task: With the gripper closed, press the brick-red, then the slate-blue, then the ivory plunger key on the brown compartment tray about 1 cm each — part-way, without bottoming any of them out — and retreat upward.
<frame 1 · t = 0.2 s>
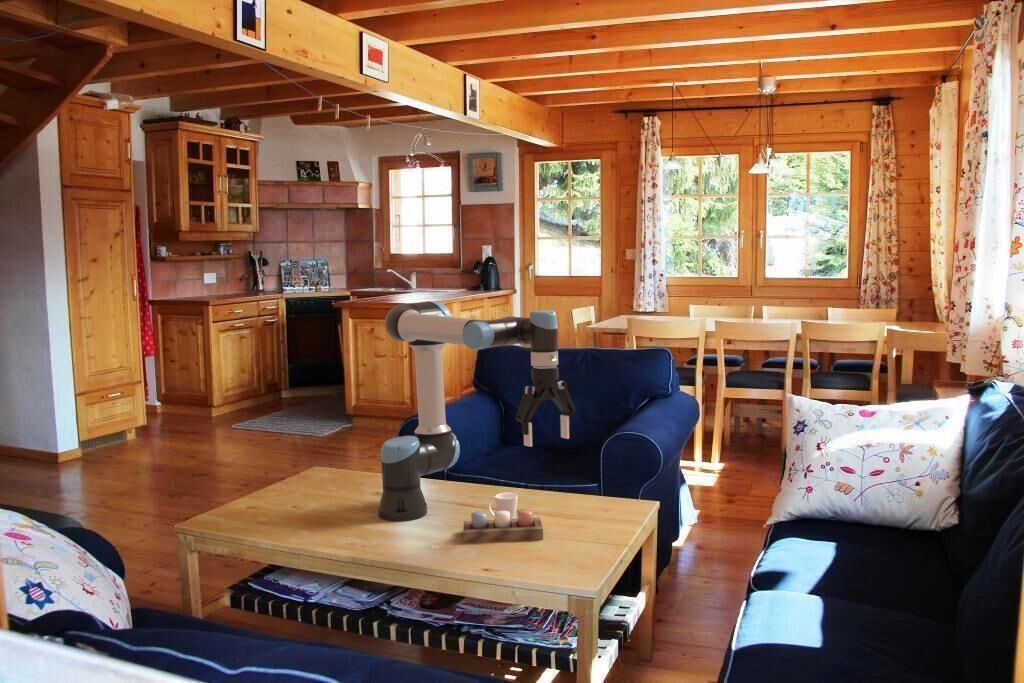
hand: (546, 442, 243), 27 cm above the table, fingers open, 13 cm apart
cup: (503, 522, 259), on the table
brown compartment tray: (502, 535, 246), on the table
white key: (502, 519, 246), point 5 cm above the table, slide at 0.0 cm
red key: (525, 518, 246), point 5 cm above the table, slide at 0.0 cm
blue key: (479, 520, 245), point 5 cm above the table, slide at 0.0 cm
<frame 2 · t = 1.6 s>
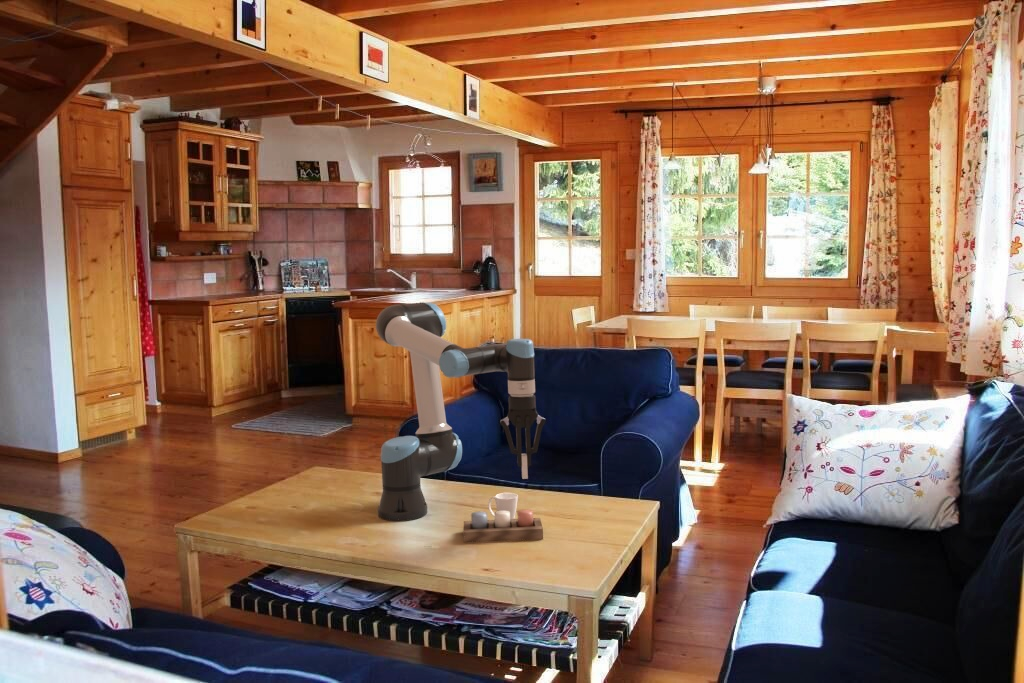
hand: (524, 477, 245), 16 cm above the table, fingers closed
nothing on the table moved.
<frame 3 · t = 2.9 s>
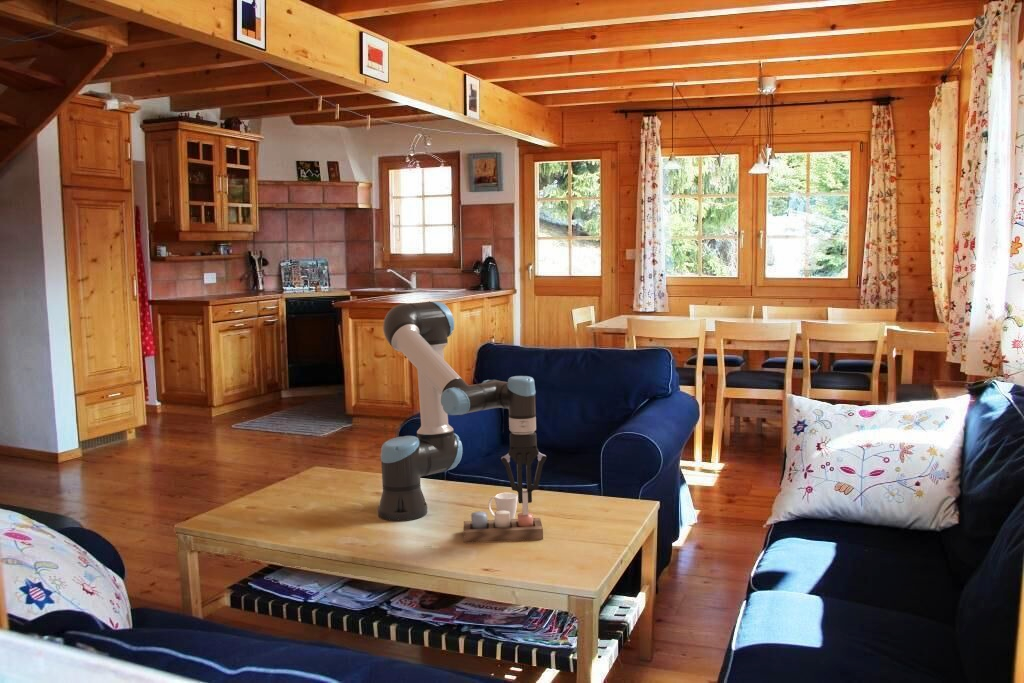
hand: (525, 513, 246), 6 cm above the table, fingers closed
red key: (525, 521, 246), point 4 cm above the table, slide at 0.8 cm, touching gripper
everything else where it was.
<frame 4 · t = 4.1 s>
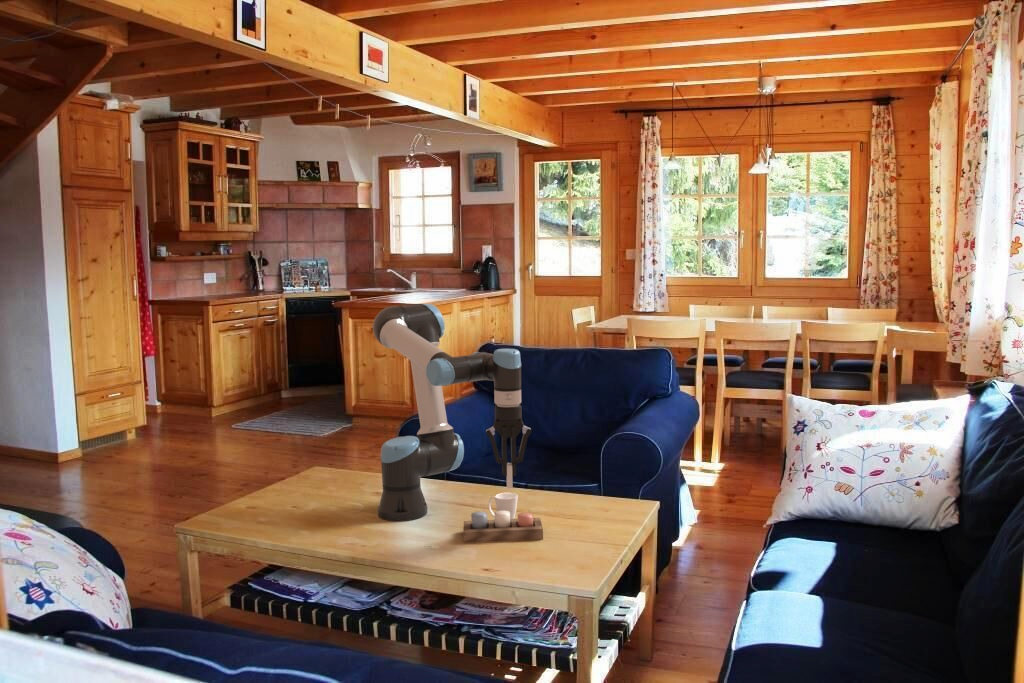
hand: (509, 486, 245), 14 cm above the table, fingers closed
red key: (525, 521, 246), point 4 cm above the table, slide at 0.9 cm
everything else where it was.
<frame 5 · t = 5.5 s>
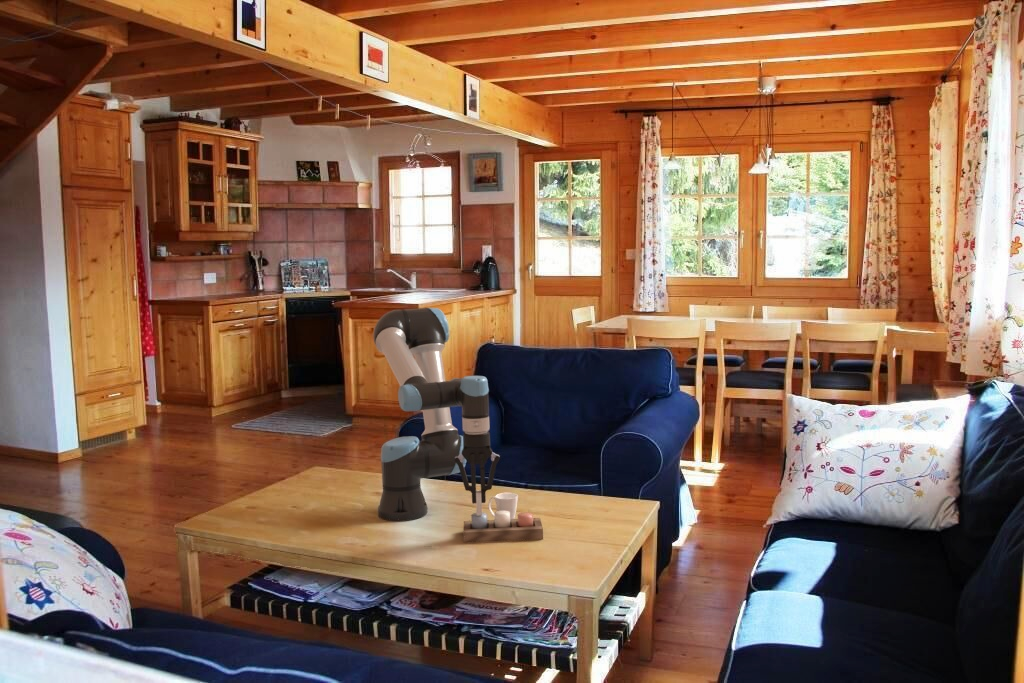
hand: (479, 514, 245), 6 cm above the table, fingers closed
blue key: (479, 521, 245), point 4 cm above the table, slide at 0.3 cm, touching gripper
everything else where it was.
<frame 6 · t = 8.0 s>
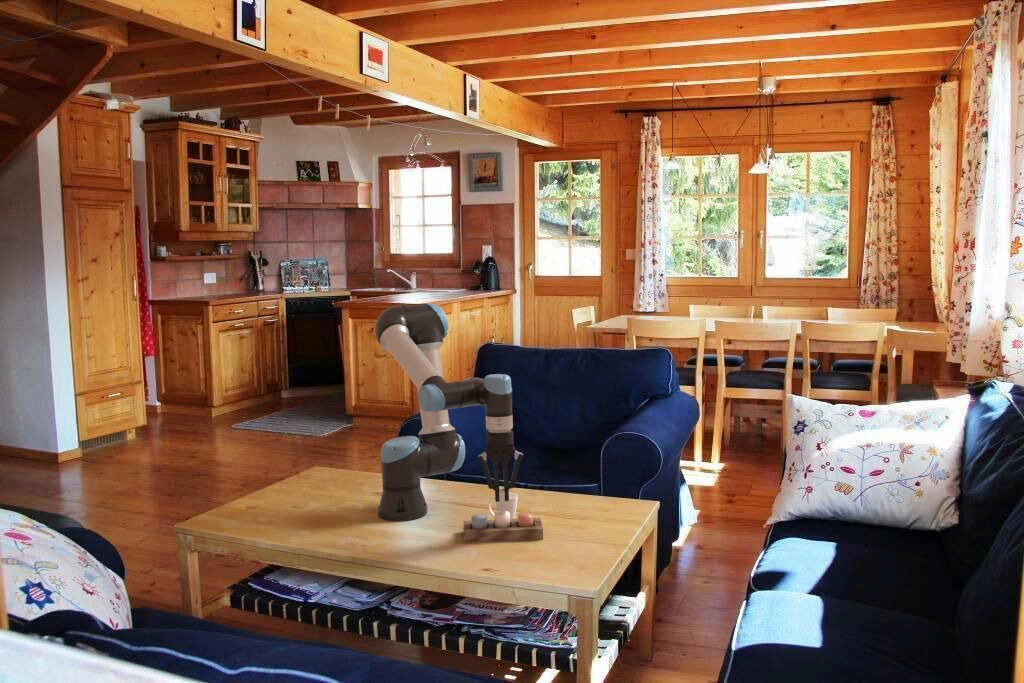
hand: (502, 512, 245), 7 cm above the table, fingers closed
white key: (502, 519, 246), point 4 cm above the table, slide at 0.1 cm, touching gripper
blue key: (479, 523, 245), point 4 cm above the table, slide at 0.9 cm
everything else where it was.
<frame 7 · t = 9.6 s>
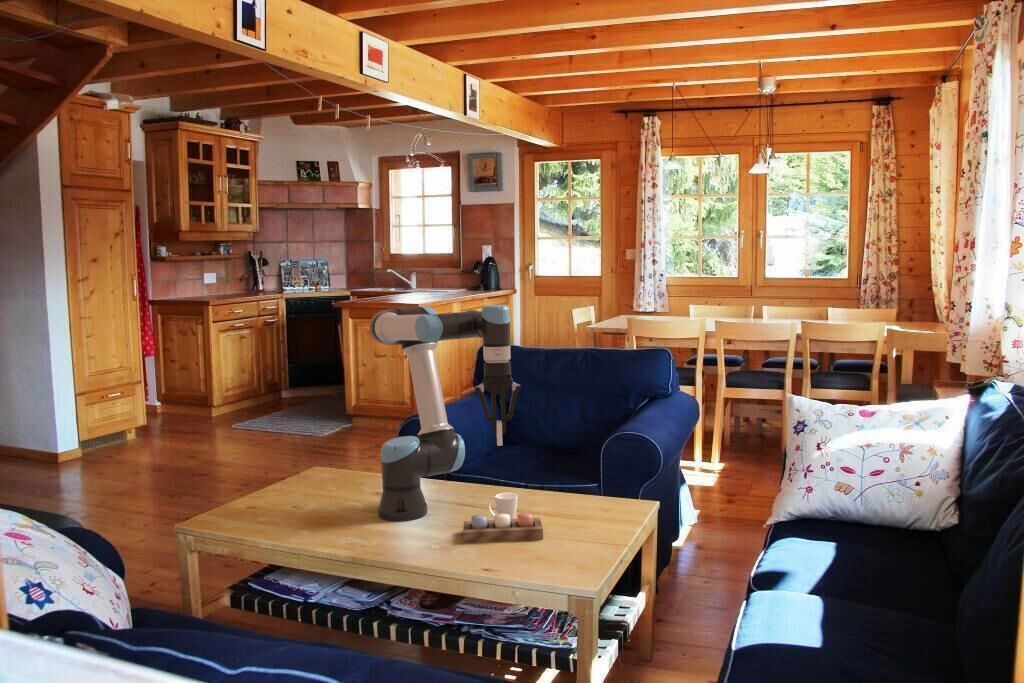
hand: (499, 444, 244), 26 cm above the table, fingers closed
white key: (502, 522, 246), point 4 cm above the table, slide at 0.9 cm
everything else where it was.
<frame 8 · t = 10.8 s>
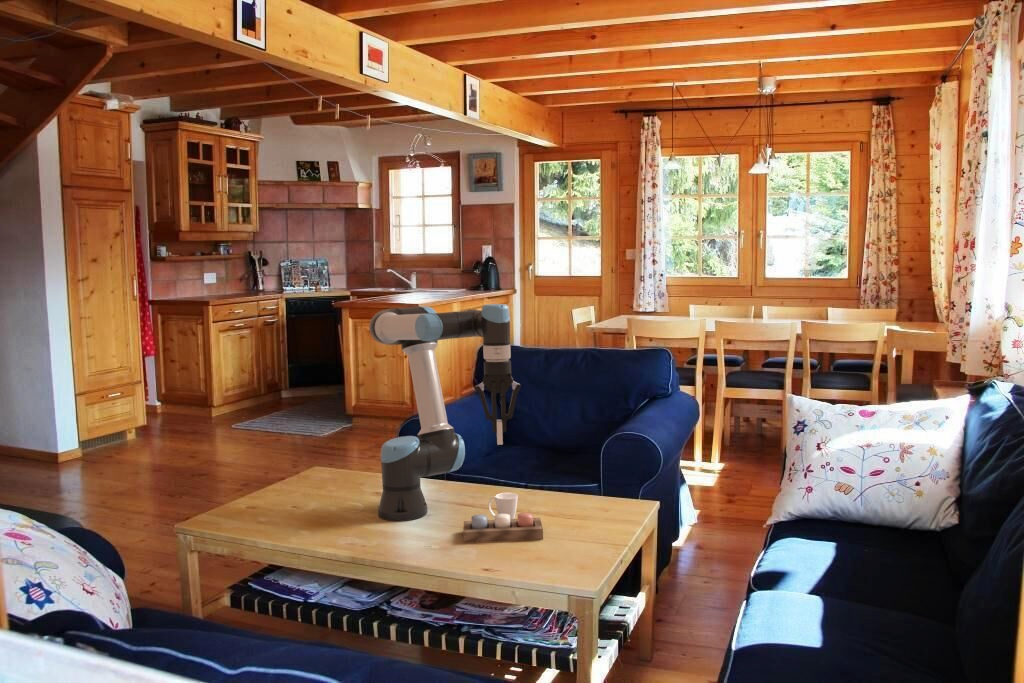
hand: (499, 443, 243), 26 cm above the table, fingers closed
nothing on the table moved.
at the end: red key slide at 0.9 cm; blue key slide at 0.9 cm; white key slide at 0.9 cm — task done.
